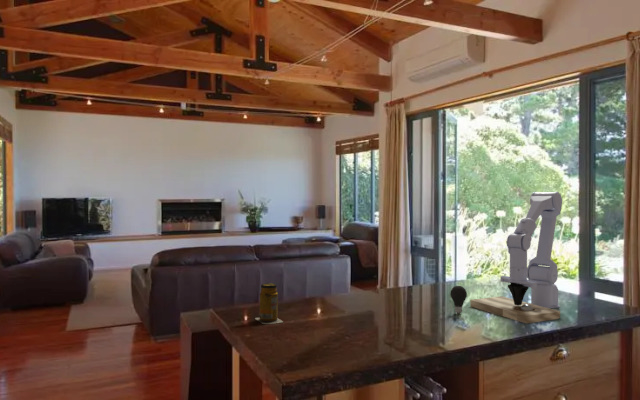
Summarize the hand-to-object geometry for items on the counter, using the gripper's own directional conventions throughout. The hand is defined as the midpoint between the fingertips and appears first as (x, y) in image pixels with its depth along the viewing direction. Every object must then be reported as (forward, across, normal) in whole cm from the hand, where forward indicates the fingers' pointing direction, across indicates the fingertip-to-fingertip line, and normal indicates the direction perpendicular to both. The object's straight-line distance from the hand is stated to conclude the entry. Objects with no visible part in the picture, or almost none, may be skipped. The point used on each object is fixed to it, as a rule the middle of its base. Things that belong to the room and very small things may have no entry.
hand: (517, 304), depth 165 cm
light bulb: (+3, -8, -20) cm, 22 cm away
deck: (+3, -2, 0) cm, 4 cm away
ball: (+1, +3, 0) cm, 4 cm away
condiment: (+3, -26, -85) cm, 89 cm away
